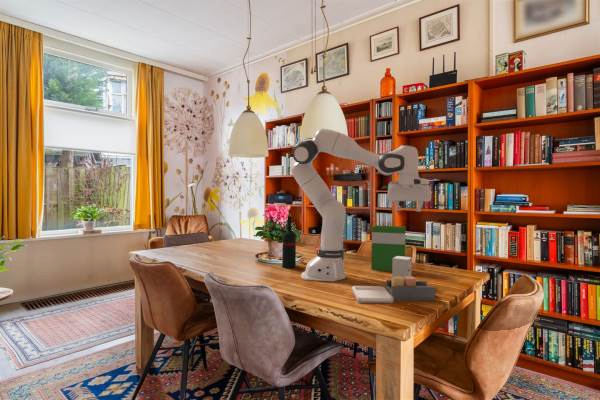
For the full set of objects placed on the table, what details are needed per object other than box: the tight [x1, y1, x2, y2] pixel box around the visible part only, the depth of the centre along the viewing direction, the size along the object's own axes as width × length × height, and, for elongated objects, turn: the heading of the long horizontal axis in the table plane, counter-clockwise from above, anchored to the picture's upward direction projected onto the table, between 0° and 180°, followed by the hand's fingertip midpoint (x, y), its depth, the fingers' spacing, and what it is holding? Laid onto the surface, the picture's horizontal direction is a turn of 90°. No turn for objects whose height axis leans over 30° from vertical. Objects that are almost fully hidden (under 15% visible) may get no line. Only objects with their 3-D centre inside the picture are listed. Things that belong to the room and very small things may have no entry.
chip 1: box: [390, 275, 404, 286], centre depth 140 cm, size 4×4×4 cm
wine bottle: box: [281, 213, 297, 269], centre depth 193 cm, size 8×10×30 cm
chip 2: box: [403, 276, 417, 286], centre depth 140 cm, size 4×4×4 cm
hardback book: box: [370, 225, 406, 272], centre depth 188 cm, size 18×7×24 cm, turn 75°
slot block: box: [385, 279, 436, 302], centre depth 140 cm, size 17×10×6 cm, turn 90°
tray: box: [351, 285, 395, 304], centre depth 140 cm, size 14×16×2 cm
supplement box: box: [391, 256, 413, 278], centre depth 159 cm, size 7×7×13 cm
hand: (408, 211), depth 155 cm, fingers open, 8 cm apart
